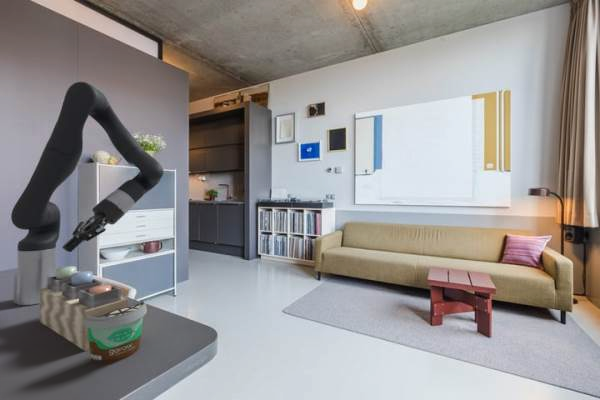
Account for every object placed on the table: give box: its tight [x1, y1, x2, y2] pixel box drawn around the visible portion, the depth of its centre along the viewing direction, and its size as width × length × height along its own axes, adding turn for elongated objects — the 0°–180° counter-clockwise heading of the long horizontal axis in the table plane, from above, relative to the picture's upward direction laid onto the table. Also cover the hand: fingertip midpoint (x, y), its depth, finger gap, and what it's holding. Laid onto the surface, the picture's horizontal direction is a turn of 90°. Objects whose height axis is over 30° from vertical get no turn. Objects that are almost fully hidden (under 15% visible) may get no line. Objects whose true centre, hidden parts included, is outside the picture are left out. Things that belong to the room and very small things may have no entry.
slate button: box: [71, 270, 94, 287], centre depth 73 cm, size 4×4×3 cm
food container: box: [84, 299, 148, 364], centre depth 60 cm, size 12×6×10 cm, turn 148°
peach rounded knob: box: [89, 284, 111, 294], centre depth 67 cm, size 4×4×3 cm
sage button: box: [55, 265, 78, 281], centre depth 78 cm, size 4×4×3 cm
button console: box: [39, 275, 129, 352], centre depth 73 cm, size 28×9×12 cm, turn 59°
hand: (66, 249), depth 77 cm, fingers closed
